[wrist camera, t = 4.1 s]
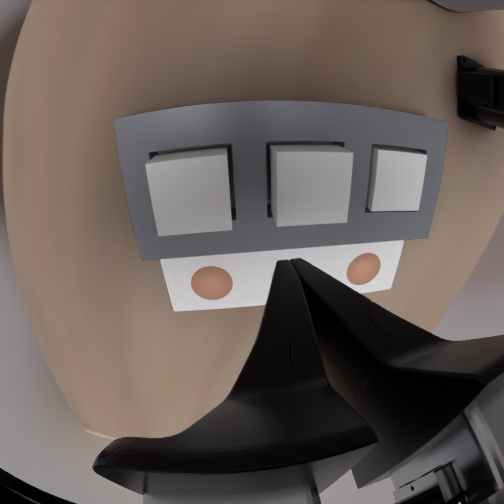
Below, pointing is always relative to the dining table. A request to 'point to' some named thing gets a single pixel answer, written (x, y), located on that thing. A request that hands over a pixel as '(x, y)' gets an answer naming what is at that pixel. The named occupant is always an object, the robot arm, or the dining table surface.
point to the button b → (395, 178)
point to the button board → (259, 176)
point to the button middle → (310, 184)
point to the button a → (190, 191)
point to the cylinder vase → (471, 5)
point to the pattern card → (262, 269)
